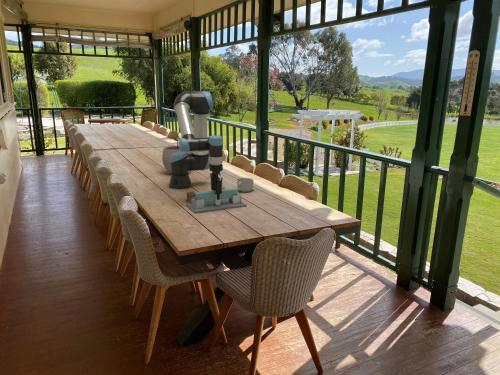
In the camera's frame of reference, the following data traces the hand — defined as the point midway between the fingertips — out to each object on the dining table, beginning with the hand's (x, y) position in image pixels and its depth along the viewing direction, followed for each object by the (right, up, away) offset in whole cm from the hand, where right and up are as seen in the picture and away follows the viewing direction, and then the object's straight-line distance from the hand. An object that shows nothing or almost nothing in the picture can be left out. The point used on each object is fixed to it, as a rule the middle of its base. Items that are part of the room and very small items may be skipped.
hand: (216, 203), depth 222 cm
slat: (0, +3, -1) cm, 3 cm away
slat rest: (-7, +2, +14) cm, 16 cm away
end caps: (0, -1, 0) cm, 1 cm away
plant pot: (-37, +20, +83) cm, 93 cm away
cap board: (0, -1, 0) cm, 1 cm away
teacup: (+15, +7, +32) cm, 36 cm away
